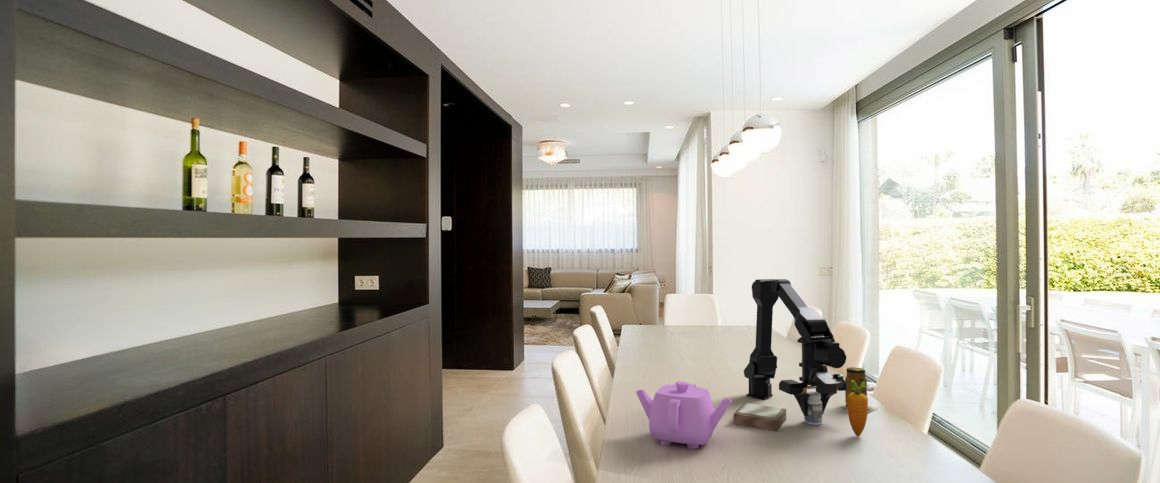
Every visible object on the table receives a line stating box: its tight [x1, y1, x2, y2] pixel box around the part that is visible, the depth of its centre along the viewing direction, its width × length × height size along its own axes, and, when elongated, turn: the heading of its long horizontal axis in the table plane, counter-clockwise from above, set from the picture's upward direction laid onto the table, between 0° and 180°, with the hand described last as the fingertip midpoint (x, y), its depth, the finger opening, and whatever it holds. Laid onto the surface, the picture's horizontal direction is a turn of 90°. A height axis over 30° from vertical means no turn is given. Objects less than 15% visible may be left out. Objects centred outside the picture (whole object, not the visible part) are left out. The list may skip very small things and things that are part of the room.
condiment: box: [840, 366, 879, 413], centre depth 166 cm, size 7×8×12 cm
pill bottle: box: [803, 390, 823, 426], centre depth 153 cm, size 5×5×8 cm
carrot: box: [846, 380, 869, 437], centre depth 141 cm, size 5×5×15 cm
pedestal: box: [733, 402, 787, 432], centre depth 154 cm, size 12×12×3 cm
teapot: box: [635, 380, 732, 450], centre depth 140 cm, size 19×18×15 cm
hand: (813, 415), depth 153 cm, fingers closed on pill bottle, 5 cm apart
